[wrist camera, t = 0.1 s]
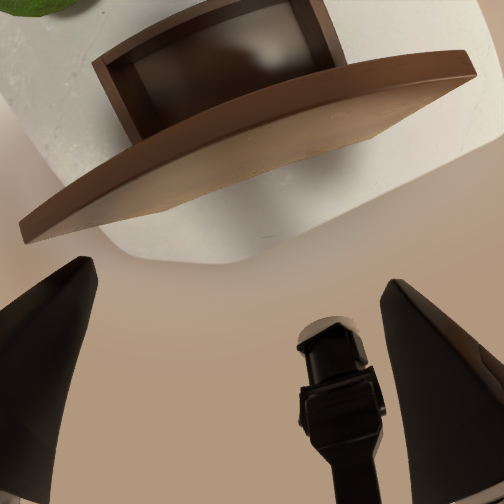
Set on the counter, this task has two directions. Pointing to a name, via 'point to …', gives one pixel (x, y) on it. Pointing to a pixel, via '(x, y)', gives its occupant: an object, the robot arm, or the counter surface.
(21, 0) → the fruit
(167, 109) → the box
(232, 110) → the lid
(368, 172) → the counter surface
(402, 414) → the robot arm
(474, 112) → the counter surface
